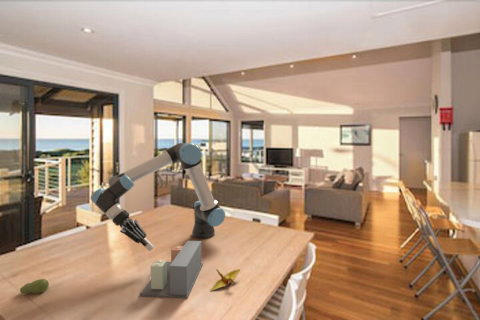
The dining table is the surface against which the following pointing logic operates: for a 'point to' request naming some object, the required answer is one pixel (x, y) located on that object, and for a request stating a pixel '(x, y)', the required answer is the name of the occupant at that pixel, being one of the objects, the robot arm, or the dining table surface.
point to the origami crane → (225, 279)
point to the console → (179, 273)
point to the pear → (35, 286)
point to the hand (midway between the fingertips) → (152, 249)
